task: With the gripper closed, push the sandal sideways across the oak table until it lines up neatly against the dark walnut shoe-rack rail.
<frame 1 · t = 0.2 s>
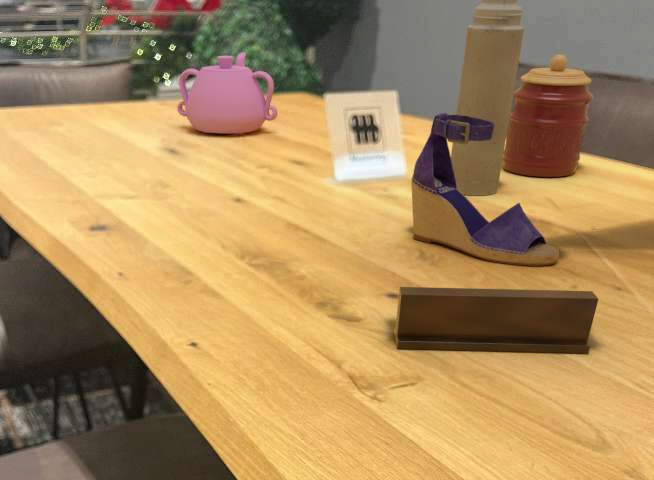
thermos bottle: (471, 190, 123), on the table
shoe rail: (488, 342, 74), on the table
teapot: (230, 129, 165), on the table
sandal: (479, 250, 98), on the table
kitchen canister: (538, 171, 134), on the table
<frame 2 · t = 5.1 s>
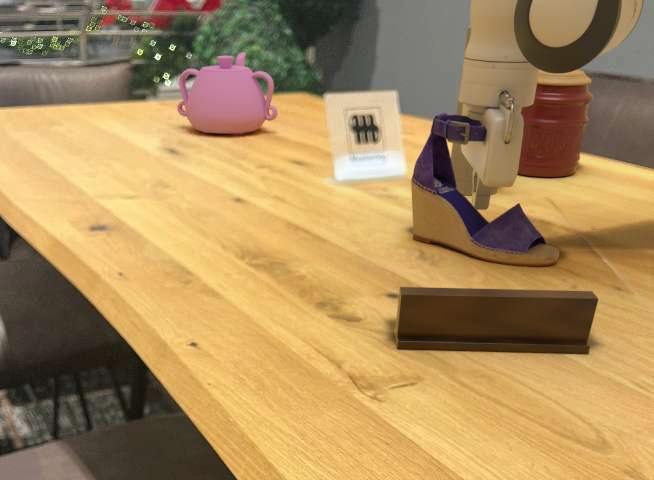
hand: (479, 207, 99), 4 cm above the table, tool pointing down, fingers closed
sandal: (479, 250, 98), on the table, touching gripper
everything else where it was.
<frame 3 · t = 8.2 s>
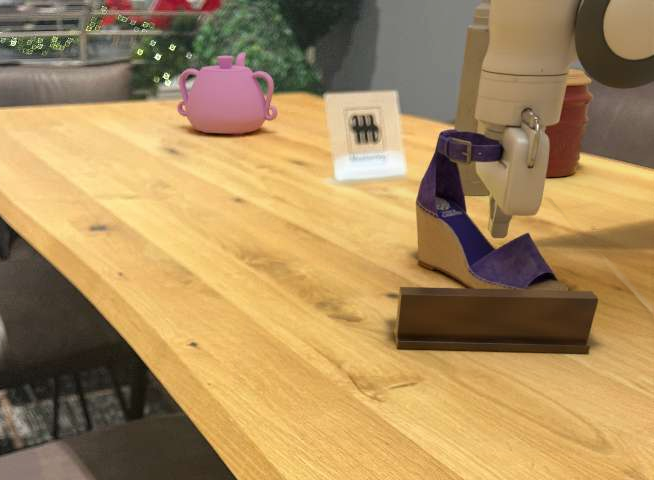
hand: (496, 234, 89), 4 cm above the table, tool pointing down, fingers closed
sandal: (483, 282, 88), on the table, touching gripper
everything else where it was.
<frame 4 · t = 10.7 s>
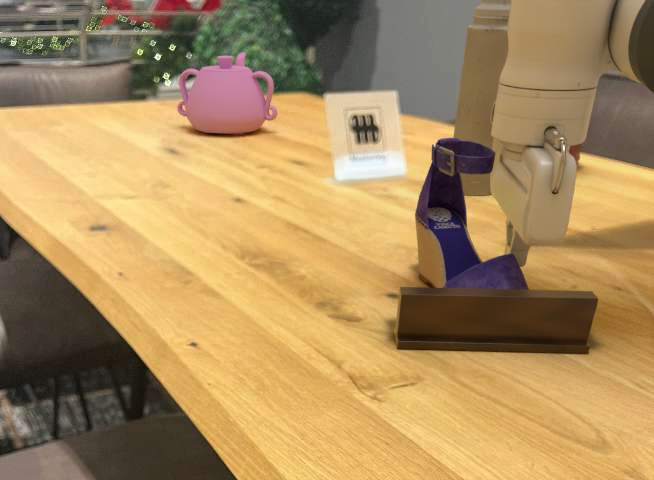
hand: (514, 263, 81), 4 cm above the table, tool pointing down, fingers closed
sandal: (470, 301, 83), on the table, touching gripper, shoe rail
everything else where it was.
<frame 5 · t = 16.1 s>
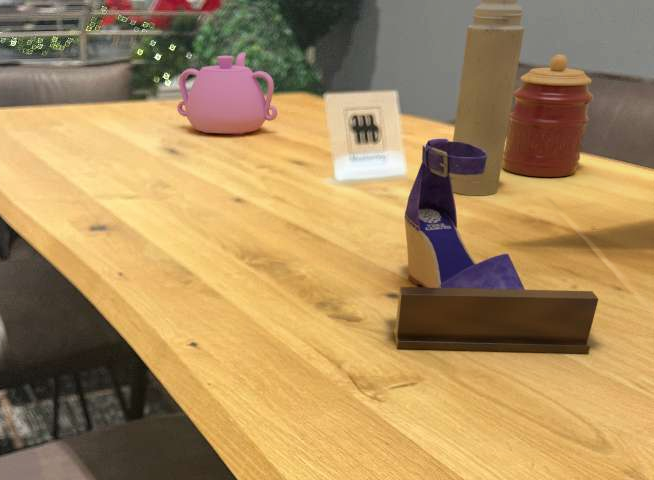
sandal: (463, 302, 83), on the table
everything else where it was.
at the end: sandal inside the target area on the table beside the shoe rail (3.0 cm from its centre), on the table; sandal tilted 0°; sandal moved 19.1 cm from its start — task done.
